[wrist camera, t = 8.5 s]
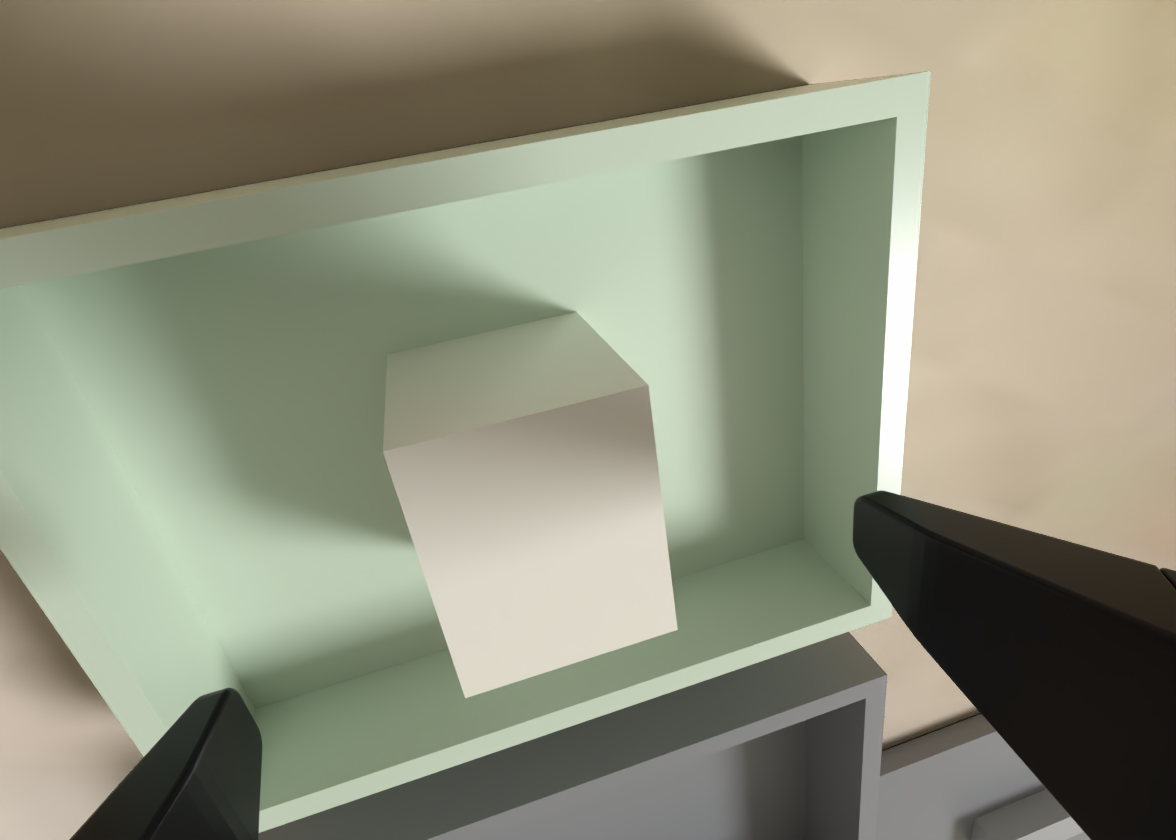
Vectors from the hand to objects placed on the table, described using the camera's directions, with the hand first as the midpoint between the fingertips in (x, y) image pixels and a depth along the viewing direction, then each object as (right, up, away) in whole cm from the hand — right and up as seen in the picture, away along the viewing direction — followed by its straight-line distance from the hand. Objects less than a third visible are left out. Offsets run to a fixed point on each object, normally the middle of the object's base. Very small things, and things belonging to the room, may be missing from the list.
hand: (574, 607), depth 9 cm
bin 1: (-2, +3, +6) cm, 7 cm away
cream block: (-2, +2, +5) cm, 6 cm away
